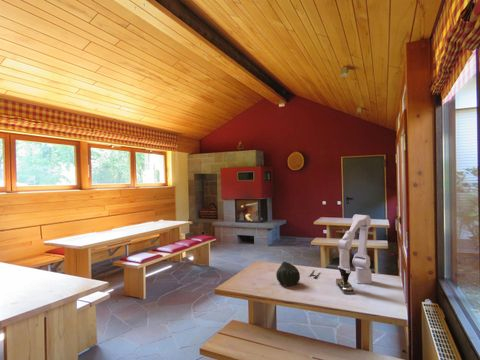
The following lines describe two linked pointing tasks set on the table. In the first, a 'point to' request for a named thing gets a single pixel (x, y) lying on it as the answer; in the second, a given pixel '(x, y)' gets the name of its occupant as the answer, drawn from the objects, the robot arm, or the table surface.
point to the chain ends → (345, 287)
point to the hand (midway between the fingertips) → (344, 281)
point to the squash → (287, 274)
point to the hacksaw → (315, 275)
